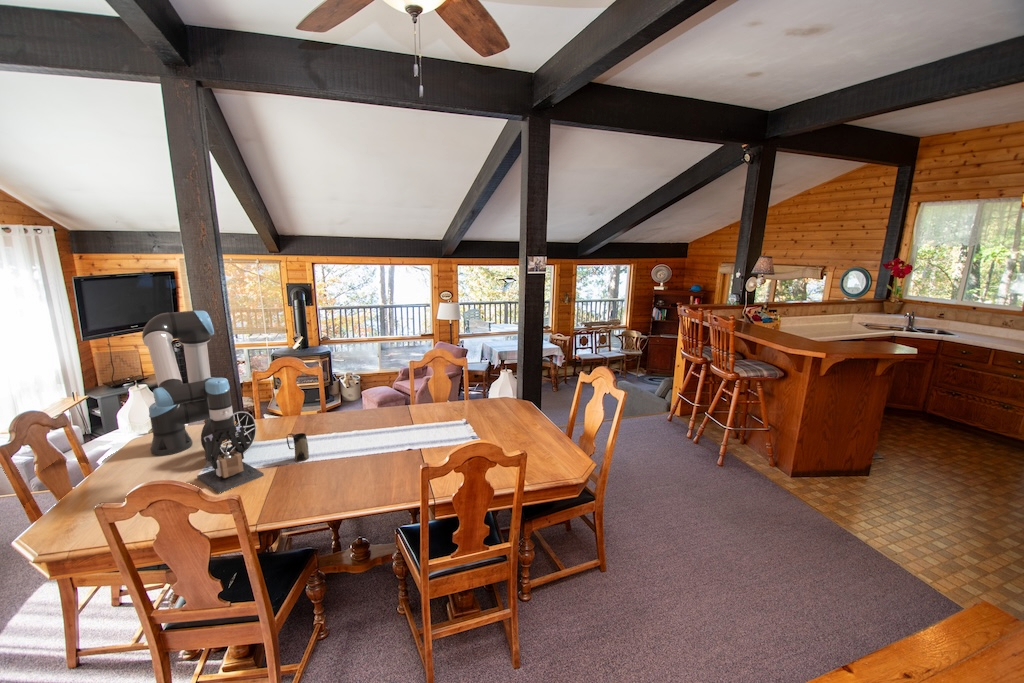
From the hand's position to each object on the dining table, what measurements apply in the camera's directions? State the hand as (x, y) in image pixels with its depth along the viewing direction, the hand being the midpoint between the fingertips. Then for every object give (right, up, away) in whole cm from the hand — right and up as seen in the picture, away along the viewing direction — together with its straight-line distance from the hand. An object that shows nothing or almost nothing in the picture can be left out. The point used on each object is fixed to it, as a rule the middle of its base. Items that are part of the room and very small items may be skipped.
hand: (229, 471), depth 170 cm
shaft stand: (0, -3, 0) cm, 3 cm away
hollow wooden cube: (0, 0, 0) cm, 0 cm away
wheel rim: (-13, +1, +21) cm, 24 cm away
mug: (+20, 0, +16) cm, 25 cm away
